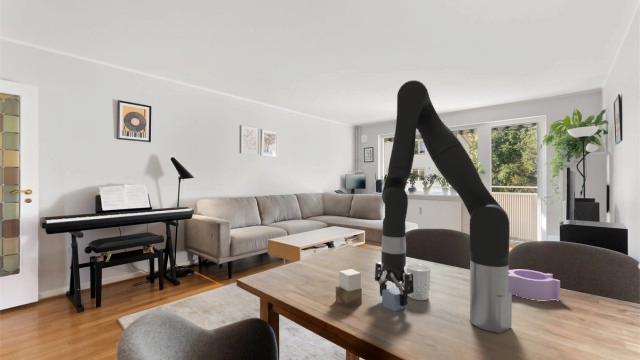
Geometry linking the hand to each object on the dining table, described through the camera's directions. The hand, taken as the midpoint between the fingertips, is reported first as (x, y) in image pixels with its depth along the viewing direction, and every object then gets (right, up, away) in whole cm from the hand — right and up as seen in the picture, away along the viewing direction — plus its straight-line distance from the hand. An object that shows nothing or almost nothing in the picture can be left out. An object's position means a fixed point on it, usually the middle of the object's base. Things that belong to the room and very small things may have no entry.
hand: (392, 300), depth 94 cm
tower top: (-13, +3, +3) cm, 14 cm away
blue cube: (0, -2, 0) cm, 2 cm away
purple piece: (+48, -2, +10) cm, 49 cm away
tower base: (-14, -2, +3) cm, 14 cm away
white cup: (+11, -2, +7) cm, 13 cm away
